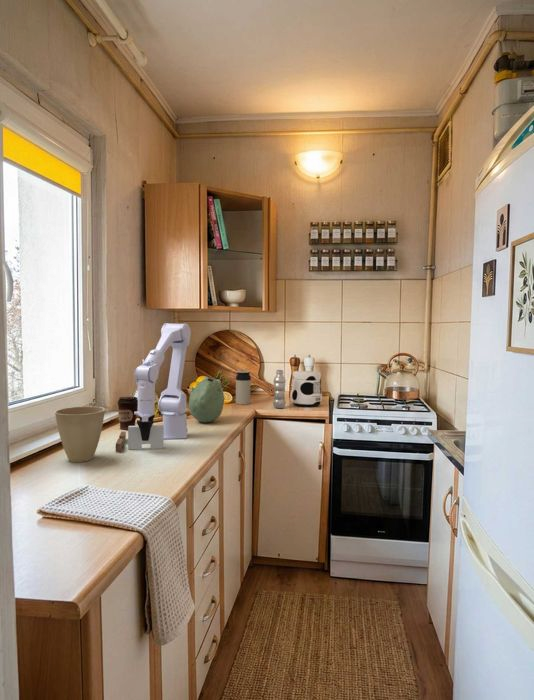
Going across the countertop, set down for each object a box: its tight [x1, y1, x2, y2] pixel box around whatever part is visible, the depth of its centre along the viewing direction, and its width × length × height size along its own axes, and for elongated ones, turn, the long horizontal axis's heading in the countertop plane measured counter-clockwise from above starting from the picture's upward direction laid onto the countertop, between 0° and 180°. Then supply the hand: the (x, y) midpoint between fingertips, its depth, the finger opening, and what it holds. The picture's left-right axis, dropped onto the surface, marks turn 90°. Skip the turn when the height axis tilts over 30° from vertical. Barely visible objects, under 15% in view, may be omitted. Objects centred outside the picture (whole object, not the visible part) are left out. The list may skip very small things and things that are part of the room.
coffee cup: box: [117, 396, 138, 430], centre depth 196 cm, size 9×8×13 cm
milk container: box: [290, 370, 323, 407], centre depth 259 cm, size 17×17×18 cm
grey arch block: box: [127, 424, 165, 451], centre depth 167 cm, size 12×2×8 cm, turn 101°
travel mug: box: [235, 369, 252, 406], centre depth 260 cm, size 8×8×18 cm
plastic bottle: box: [272, 369, 287, 409], centre depth 248 cm, size 6×7×20 cm
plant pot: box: [54, 405, 106, 463], centre depth 153 cm, size 15×15×16 cm
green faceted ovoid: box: [187, 376, 225, 424], centre depth 211 cm, size 16×19×20 cm
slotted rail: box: [115, 430, 127, 453], centre depth 170 cm, size 2×18×3 cm, turn 11°
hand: (145, 437), depth 166 cm, fingers open, 7 cm apart
